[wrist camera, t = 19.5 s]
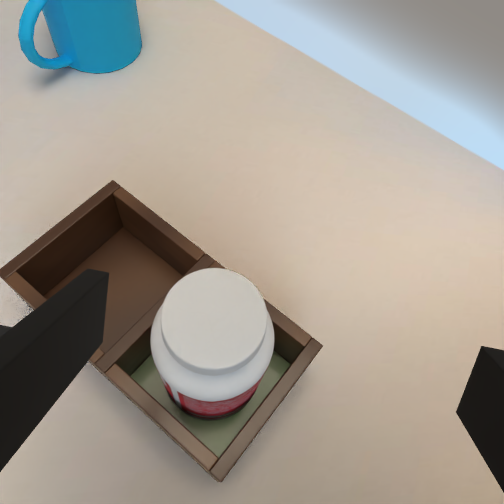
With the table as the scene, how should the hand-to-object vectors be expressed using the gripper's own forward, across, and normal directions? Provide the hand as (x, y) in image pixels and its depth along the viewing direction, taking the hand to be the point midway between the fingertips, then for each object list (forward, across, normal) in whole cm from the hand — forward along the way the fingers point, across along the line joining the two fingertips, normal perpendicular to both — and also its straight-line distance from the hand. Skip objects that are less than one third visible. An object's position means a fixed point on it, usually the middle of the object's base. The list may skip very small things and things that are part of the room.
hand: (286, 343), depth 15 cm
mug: (+31, -21, +9) cm, 39 cm away
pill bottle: (+11, -3, -9) cm, 15 cm away
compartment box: (+14, -7, -8) cm, 17 cm away
